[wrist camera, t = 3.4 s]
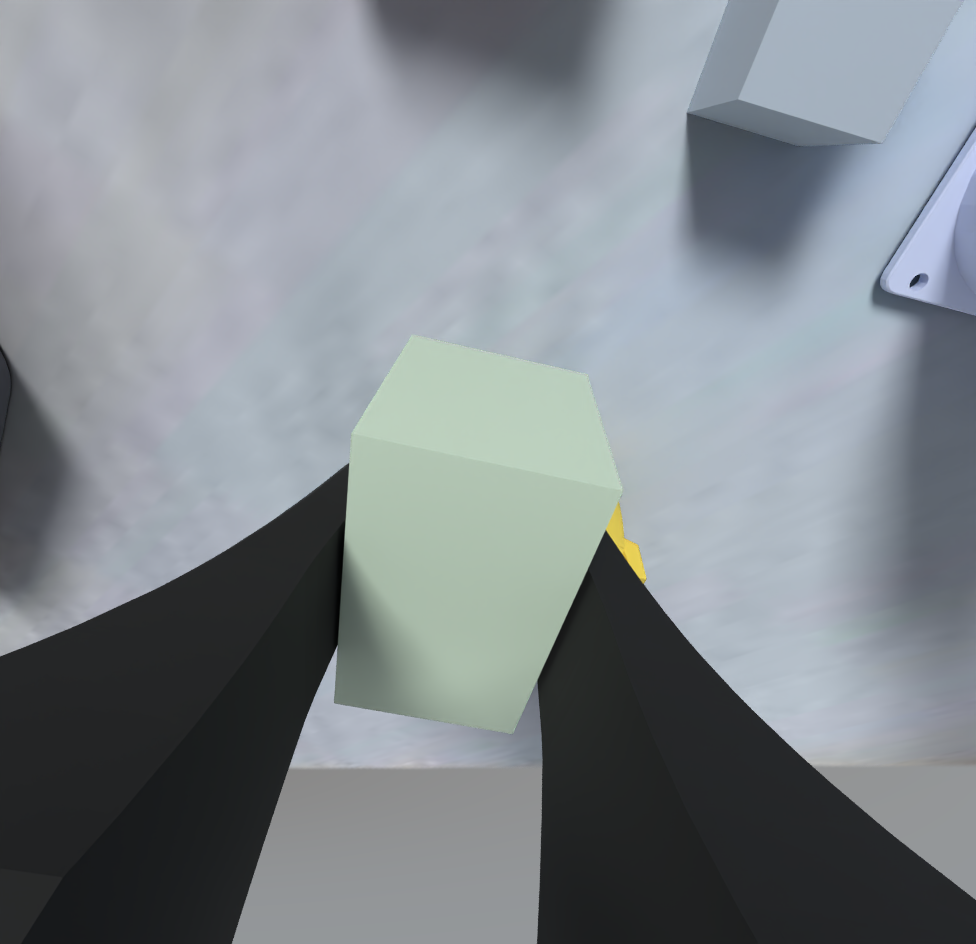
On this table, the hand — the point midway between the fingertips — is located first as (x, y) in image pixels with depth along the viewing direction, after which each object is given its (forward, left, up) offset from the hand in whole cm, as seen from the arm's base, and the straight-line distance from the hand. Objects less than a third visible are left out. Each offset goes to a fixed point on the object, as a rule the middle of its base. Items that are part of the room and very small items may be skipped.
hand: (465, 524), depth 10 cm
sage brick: (0, 0, -2) cm, 2 cm away
